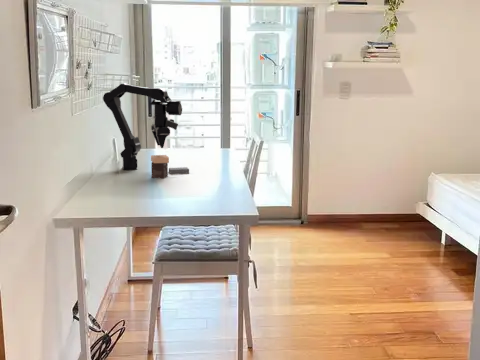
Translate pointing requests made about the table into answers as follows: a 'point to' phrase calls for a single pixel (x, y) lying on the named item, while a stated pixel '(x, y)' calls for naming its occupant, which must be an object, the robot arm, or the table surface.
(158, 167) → the box
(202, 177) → the table surface
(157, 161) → the tile
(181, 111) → the robot arm
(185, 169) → the block
